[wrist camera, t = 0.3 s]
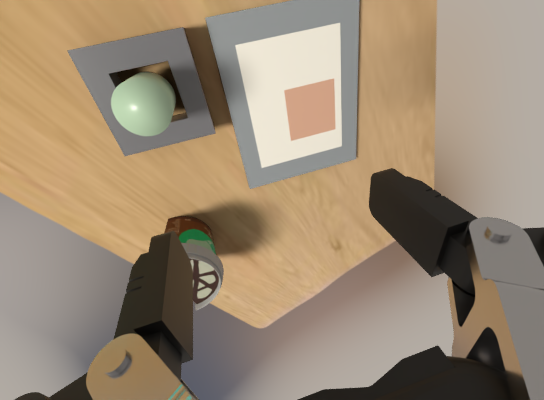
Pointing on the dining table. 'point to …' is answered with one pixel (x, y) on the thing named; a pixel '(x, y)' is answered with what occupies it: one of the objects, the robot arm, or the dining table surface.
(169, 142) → the button housing
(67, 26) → the dining table surface
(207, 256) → the food container
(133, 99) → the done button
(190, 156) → the dining table surface
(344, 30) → the sketch board
